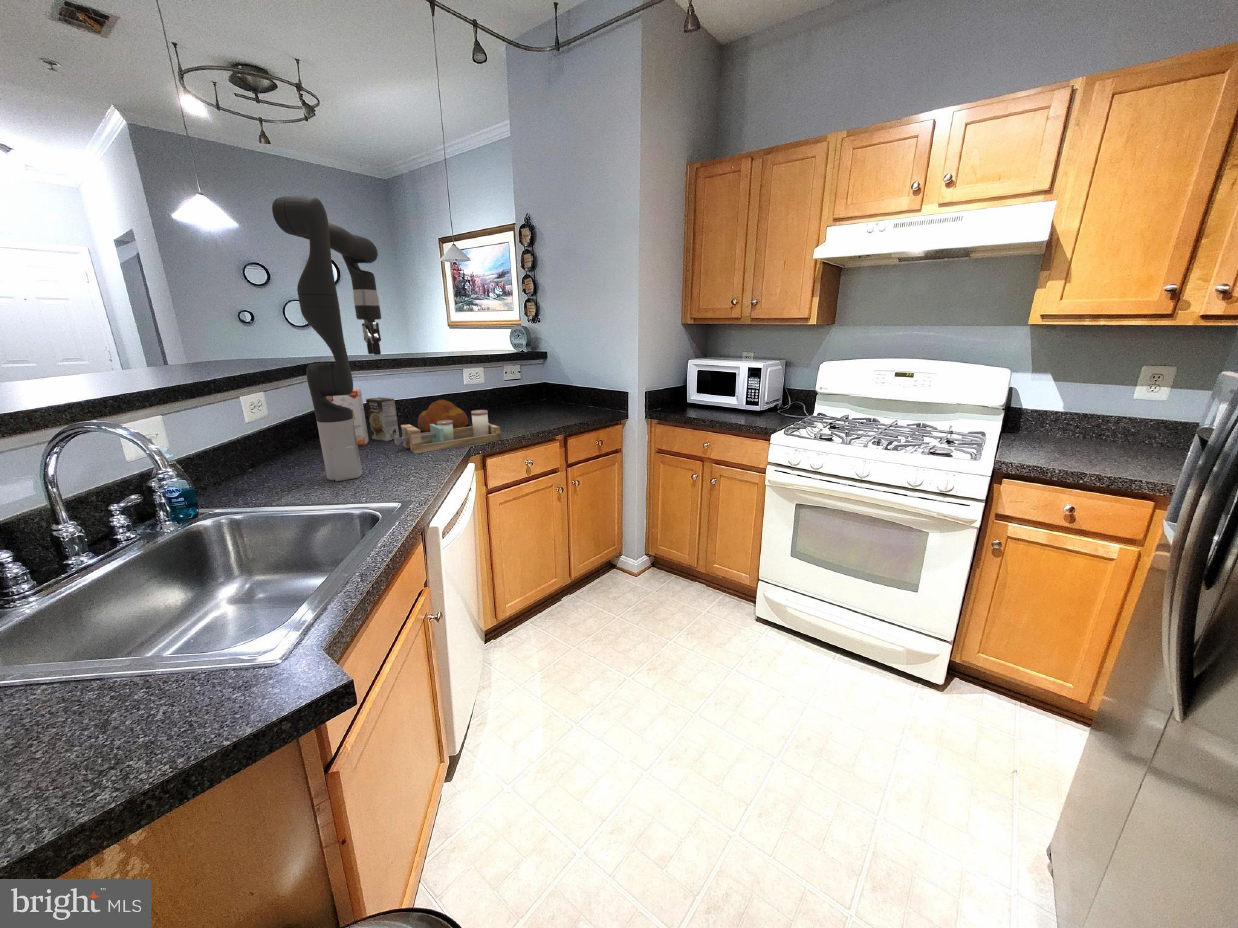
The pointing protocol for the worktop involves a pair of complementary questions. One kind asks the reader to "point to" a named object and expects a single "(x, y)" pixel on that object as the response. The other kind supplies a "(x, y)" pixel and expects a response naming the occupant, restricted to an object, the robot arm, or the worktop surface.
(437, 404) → the bread
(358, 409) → the cracker box
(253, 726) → the worktop surface
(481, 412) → the jar cream
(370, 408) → the coffee box
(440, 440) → the pusher
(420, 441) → the wooden tray
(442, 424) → the jar sage
